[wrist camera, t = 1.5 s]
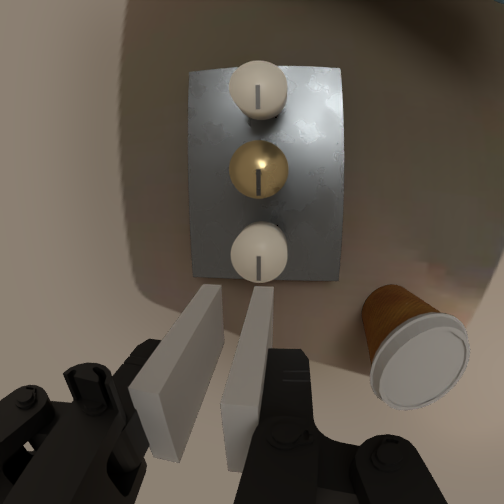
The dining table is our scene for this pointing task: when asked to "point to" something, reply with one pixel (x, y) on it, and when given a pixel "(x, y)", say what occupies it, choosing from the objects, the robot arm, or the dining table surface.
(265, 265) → the knob
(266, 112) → the knob
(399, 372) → the disposable coffee cup
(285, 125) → the mount panel
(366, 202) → the dining table surface
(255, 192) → the brass pot knob
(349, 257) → the dining table surface
